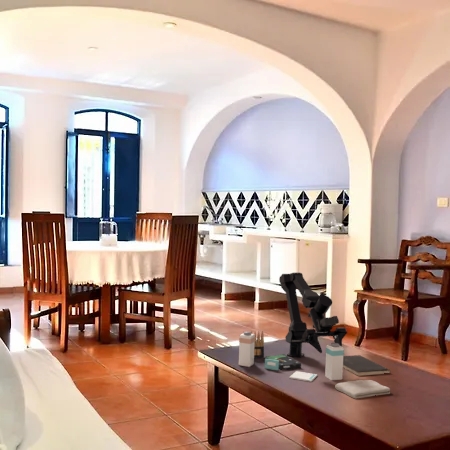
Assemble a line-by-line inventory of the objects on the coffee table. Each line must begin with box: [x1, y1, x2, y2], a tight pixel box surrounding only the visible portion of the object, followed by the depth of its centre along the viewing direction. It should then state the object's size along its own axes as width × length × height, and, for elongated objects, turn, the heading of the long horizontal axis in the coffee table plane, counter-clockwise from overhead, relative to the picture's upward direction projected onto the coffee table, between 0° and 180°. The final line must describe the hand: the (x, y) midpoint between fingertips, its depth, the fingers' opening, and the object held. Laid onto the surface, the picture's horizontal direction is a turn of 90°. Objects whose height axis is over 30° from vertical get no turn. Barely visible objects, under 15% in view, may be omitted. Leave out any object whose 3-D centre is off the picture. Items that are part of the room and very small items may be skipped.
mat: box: [289, 370, 318, 383], centre depth 228 cm, size 9×9×1 cm
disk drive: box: [264, 354, 302, 371], centre depth 245 cm, size 10×3×15 cm
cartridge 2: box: [324, 342, 345, 381], centre depth 228 cm, size 5×5×14 cm
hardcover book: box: [343, 354, 391, 377], centre depth 246 cm, size 16×23×2 cm
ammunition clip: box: [242, 330, 265, 359], centre depth 255 cm, size 11×2×12 cm, turn 105°
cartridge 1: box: [238, 331, 255, 368], centre depth 243 cm, size 5×5×14 cm
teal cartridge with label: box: [264, 359, 280, 371], centre depth 237 cm, size 1×6×4 cm, turn 65°
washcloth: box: [334, 379, 391, 399], centre depth 213 cm, size 12×18×3 cm, turn 117°
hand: (331, 352), depth 231 cm, fingers open, 9 cm apart
